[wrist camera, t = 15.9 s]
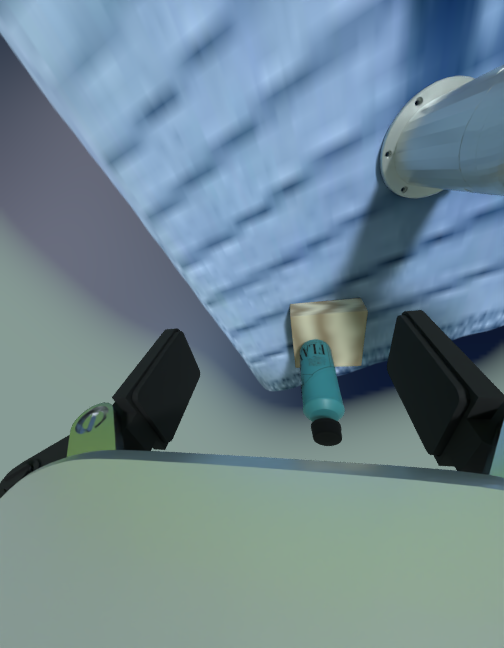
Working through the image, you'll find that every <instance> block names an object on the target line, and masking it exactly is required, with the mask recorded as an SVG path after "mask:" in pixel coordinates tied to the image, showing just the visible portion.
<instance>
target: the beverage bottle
mask: <svg viewBox="0 0 504 648" xmlns="http://www.w3.org/2000/svg"><path fill="white" fill-rule="evenodd" d="M331 351H332V350H331V349H330V347H329V345H328V344H327V343H326V342H324V341H322V340H318V339H313V340H309V341H307V342H305V343H304V344H303V345H302V347H301V348H300V352H299V353H300V354H299V355H300V358H299V359H300V370H301V371H300V373H301V375H300V376H301V381H302V385H301V386H302V387H301V389H302V395H303V396H302V398H303V412H304V415H305V416H306V417H307V418H308V419H309V420H311V421H312V424H311V429H312V434H313V439H314V441H315V442H316V443H318V444H320V445H324V446H332V445H337V444H339V443H340V442H341V440H342V434H341V425H340V423H339V422H338V420H339V419H341V418H342V416H343V415H344V412H345V409H344V406H343V402H342V398H341V394H340V389H339V385H338V381H337V377H336V371H335V366H334V362H333V357H332V353H331Z"/></svg>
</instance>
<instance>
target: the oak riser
mask: <svg viewBox="0 0 504 648" xmlns="http://www.w3.org/2000/svg"><path fill="white" fill-rule="evenodd" d="M367 313H368V310H367V308H366V307H365V305H364V303H363V301H362V300H361V298H354V299H343V300H332V301H321V302H310V303H299V304H290V318H291V328H292V338H293V347H294V357H295V367H296V368H300V359H299V358H300V355H299V354H300V353H299V352H300V348H301V347H302V345H303V344H304V343H305V342H307V341H309V340H313V339H318V340H322V341H324V342H326V343H327V344H328V345H329V347H330V349H331V350H332V351H331V353H332V357H333V362H334V366H335V367H337V366H361V363H362V354H363V346H364V338H365V329H366V321H367Z"/></svg>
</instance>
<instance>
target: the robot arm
mask: <svg viewBox="0 0 504 648" xmlns="http://www.w3.org/2000/svg"><path fill="white" fill-rule="evenodd" d="M415 101H417V102H418V104H417V105H416V106H415ZM386 153H388V156H387V157H386V156H385V154H386ZM380 170H381V175H382V178H383V180H384V182H385V184H386V185H387V187H388V188H389V189H390V190H391V191H392V192H394V193H395V194H397V195H400V196H402V197H407V198H423V197H428V196H431V195H434V194H437V193H439V192H440V191H442V190H444V189H446V190H454V191H463V192H472V193H481V194H489V195H501V196H504V65H502V66H500V67H498V68H496V69H494V70H492V71H490V72H488V73H486V74H484V75H482V76H480V77H478V78H476V79H474V78H472V77H468V76H454V77H448V78H445V79H442V80H440V81H437V82H435V83H433V84H431V85H430V86H428V87H426V88H425V89H423V90H422V91H421V92H419V93H418V94H416V95H415V96H414V97H413V98H412V99H411V100H410V101H409V102H408V103H406V104H405V106H404V107H403V108H402V109H401V111H400V112H399V113H398V114H397V116H396V117H395V119H394V120H393V122H392V124H391V125H390V127H389V129H388V131H387V134H386V136H385V138H384V142H383V145H382V148H381V155H380ZM402 188H403V191H401V189H402ZM387 370H388V374H389V376H390V378H391V380H392V382H393V384H394V386H395V388H396V390H397V392H398V394H399V396H400V398H401V400H402V402H403V404H404V406H405V408H406V410H407V412H408V415H409V417H410V419H411V421H412V423H413V424H414V427H415V429H416V431H417V433H418V435H419V437H420V439H421V441H422V443H423V445H424V447H425V449H426V451H427V452H428V454H430V455H434V457H435V459H436V461H437V463H438V465H439V466H454V467H455V468H456V470H457V471H453V470H442V469H429V468H417V467H405V466H392V465H377V464H362V463H346V462H330V461H314V460H299V459H283V458H267V457H250V456H232V455H215V454H196V453H178V452H160V451H151V449H152V447H153V448H154V449H161V450H165V449H166V447H167V445H168V442H170V441H171V440H172V439H173V437H174V435H175V432H176V430H177V428H178V425H179V423H180V421H181V418H182V416H183V414H184V412H185V410H186V407H187V405H188V403H189V400H190V398H191V396H192V393H193V391H194V389H195V387H196V384H197V382H198V380H199V377H200V370H199V368H198V365H197V363H196V361H195V359H194V356H193V354H192V352H191V349H190V347H189V345H188V343H187V340H186V338H185V336H184V333H183V332H182V331H180V330H179V329H167V330H165V331H164V332H163V333H162V334H161V336H160V337H159V338H158V340H157V341H156V342H155V343H154V345H153V346H152V347H151V348H150V350H149V351H148V352H147V354H146V355H145V356H144V357H143V359H142V360H141V361H140V362H139V364H138V365H137V366H136V368H135V369H134V370H133V371H132V373H131V374H130V375H129V376H128V378H127V379H126V380H125V382H124V383H123V384H122V385H121V387H120V388H119V389H118V390H117V392H116V393H115V394H114V396H113V397H112V398H113V399H114V401H115V403H114V404H113V405H111V404H110V403H105V402H104V403H100V404H97V405H94V406H92V407H91V408H89V409H87V410H86V411H85V412H83V413H82V414H81V415H80V416H79V417H78V418H77V419H76V420H75V422H74V423H73V425H72V427H71V430H70V435H69V436H67V437H65V438H64V439H62V440H60V441H59V442H57V443H55V444H53V445H52V446H50V447H48V448H46V449H45V450H43V451H41V452H40V453H38V454H36V455H35V456H33V457H31V458H29V459H28V460H26V461H24V462H23V463H21V464H20V465H18V466H17V467H15V468H14V469H12V470H11V471H10V472H9V473H8V474H7V475H6V476H5V477H4V479H3V480H2V481H1V483H0V648H504V394H503V393H502V392H501V391H500V390H499V389H498V388H497V387H496V386H495V385H494V384H493V383H492V382H491V381H490V380H489V379H488V378H487V377H486V376H485V375H484V374H483V373H482V372H481V371H480V369H479V368H478V367H477V366H476V365H475V364H474V363H473V362H472V361H471V360H470V359H469V358H468V357H467V356H466V355H465V354H464V353H463V352H462V351H461V350H460V349H459V348H458V347H457V346H456V345H455V344H454V343H453V342H452V341H451V340H450V338H449V337H448V336H447V335H446V334H445V333H444V332H443V331H442V330H441V329H440V328H439V327H438V326H437V325H436V324H435V323H434V322H433V321H432V320H431V319H430V318H429V317H428V316H427V314H426V313H425V312H423V311H422V310H418V311H405V312H403V313H402V315H400V316H398V317H397V320H396V324H395V329H394V334H393V339H392V344H391V348H390V353H389V358H388V363H387Z"/></svg>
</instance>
